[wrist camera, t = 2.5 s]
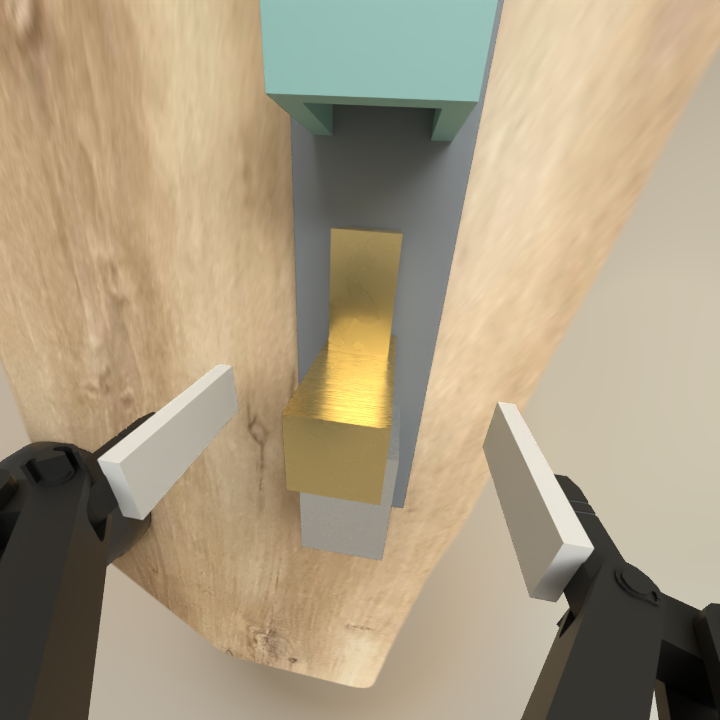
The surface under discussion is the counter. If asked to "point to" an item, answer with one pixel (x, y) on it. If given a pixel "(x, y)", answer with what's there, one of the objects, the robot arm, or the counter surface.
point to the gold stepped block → (349, 376)
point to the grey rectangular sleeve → (352, 514)
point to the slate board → (384, 211)
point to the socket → (376, 57)
